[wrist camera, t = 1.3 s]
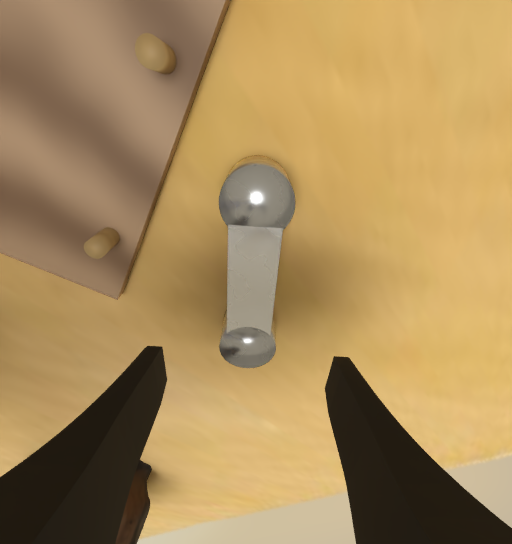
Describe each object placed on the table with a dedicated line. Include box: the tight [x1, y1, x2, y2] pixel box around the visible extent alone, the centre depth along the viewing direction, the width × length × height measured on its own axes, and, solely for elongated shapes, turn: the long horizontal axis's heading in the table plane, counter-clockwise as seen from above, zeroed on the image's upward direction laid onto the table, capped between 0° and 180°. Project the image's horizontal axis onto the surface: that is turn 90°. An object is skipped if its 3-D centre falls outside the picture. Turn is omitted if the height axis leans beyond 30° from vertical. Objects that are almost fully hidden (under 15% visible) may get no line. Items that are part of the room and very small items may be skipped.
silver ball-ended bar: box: [219, 155, 295, 368], centre depth 19 cm, size 14×4×3 cm, turn 176°
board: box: [0, 0, 230, 299], centre depth 14 cm, size 20×11×3 cm, turn 151°
